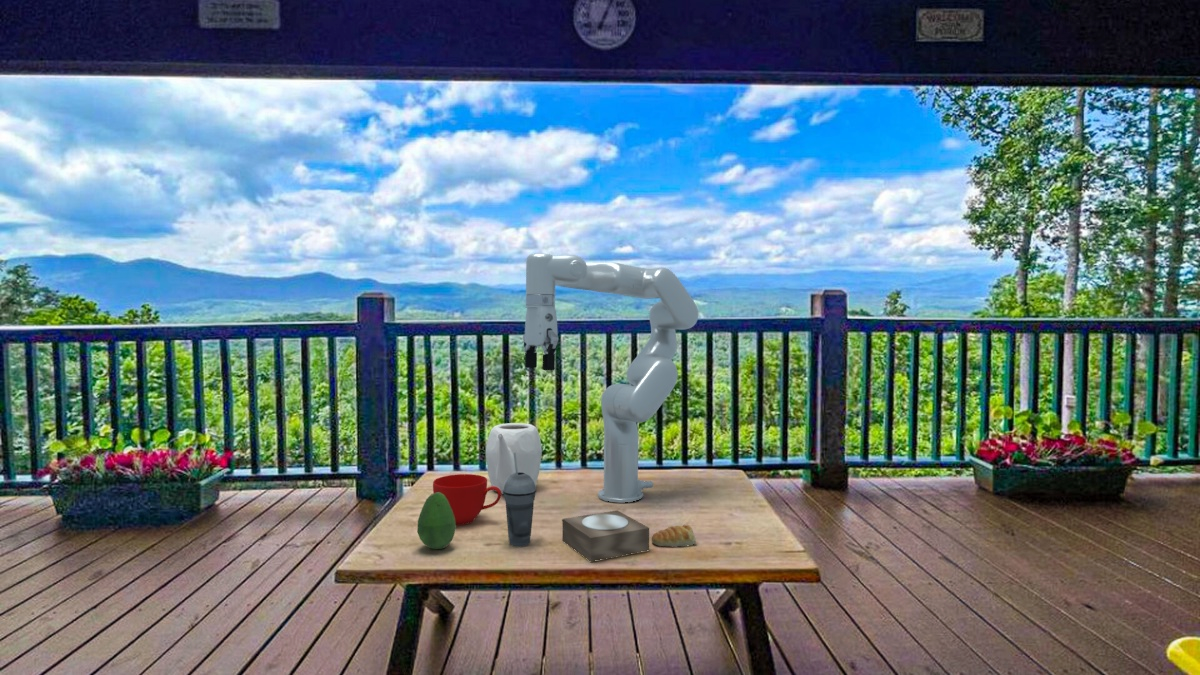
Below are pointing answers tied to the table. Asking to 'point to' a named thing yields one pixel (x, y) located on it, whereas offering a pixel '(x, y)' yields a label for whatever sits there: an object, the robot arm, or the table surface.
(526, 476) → the beverage cup
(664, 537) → the pastry
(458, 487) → the ceramic cup
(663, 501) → the table surface
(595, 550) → the walnut stand
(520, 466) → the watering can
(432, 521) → the fruit
